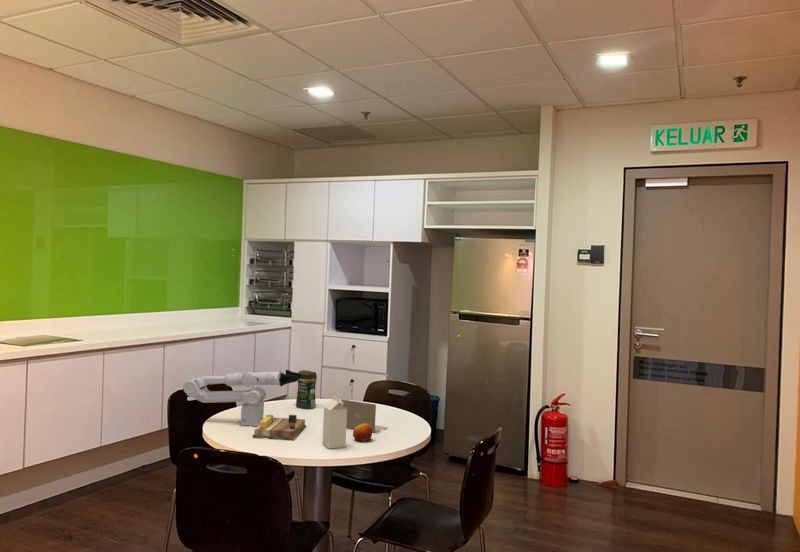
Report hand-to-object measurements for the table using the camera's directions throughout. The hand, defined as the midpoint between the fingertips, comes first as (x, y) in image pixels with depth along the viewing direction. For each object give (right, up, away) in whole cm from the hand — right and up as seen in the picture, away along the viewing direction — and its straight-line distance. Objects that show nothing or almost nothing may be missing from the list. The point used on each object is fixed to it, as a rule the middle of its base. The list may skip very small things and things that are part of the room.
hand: (299, 377), depth 260 cm
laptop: (+28, -24, +3) cm, 37 cm away
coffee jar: (-3, -22, +39) cm, 45 cm away
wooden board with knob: (-6, -21, -11) cm, 25 cm away
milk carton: (+18, -23, -27) cm, 40 cm away
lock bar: (-12, -17, -13) cm, 25 cm away
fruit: (+29, -23, -17) cm, 41 cm away
